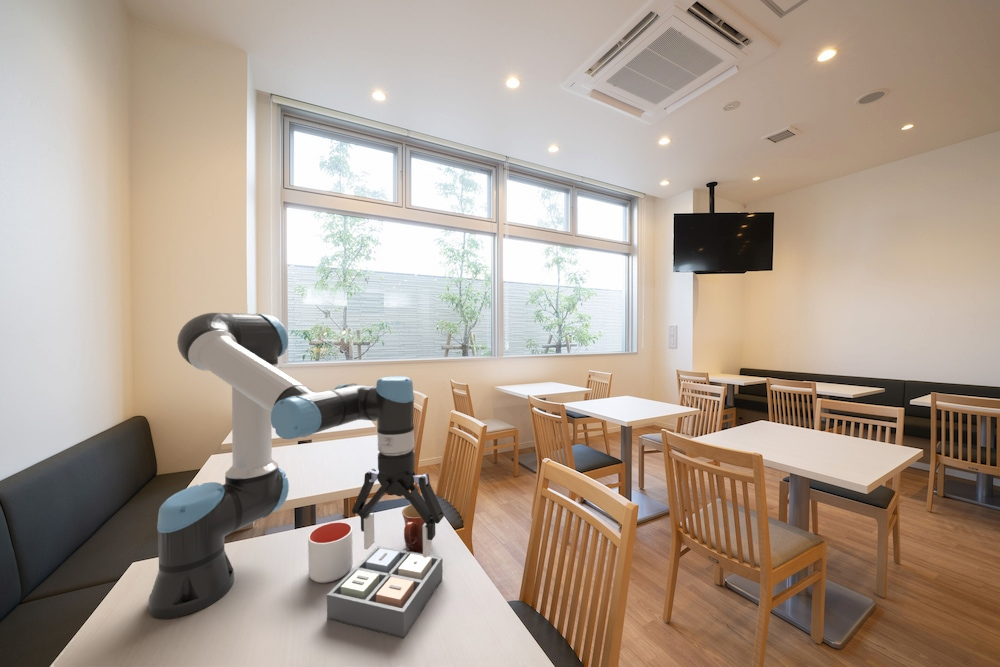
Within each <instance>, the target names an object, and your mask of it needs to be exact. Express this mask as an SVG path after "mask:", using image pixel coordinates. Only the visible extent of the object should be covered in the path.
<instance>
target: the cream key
mask: <svg viewBox="0 0 1000 667" xmlns="http://www.w3.org/2000/svg"><path fill="white" fill-rule="evenodd" d="M431 568H432V558H430V557H427V558H424V557H423V556H419V555H414V554H410V555H409V556H408V558H407V559H406V560H405V561H404V562H403V563H402V565H401V566H400V567H399V568H398V575H399V576H404V577H409V578H414V579H419V580H423V579H424V578H425V576H426V575H427V573H428V572H429V571H430V569H431Z"/></svg>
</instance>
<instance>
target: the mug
mask: <svg viewBox="0 0 1000 667" xmlns="http://www.w3.org/2000/svg"><path fill="white" fill-rule="evenodd" d="M401 514H402V517H403V520H404V530H403V538H404V544H405V548H406V550H408V552H414V553H421V552H422V553H423V525H424V524H425V522H424V520H423V519H422V518H421V516H420V515H419V513H418V512H417V511H416V509H415V508H414V507H413V505H412V504H411V503H410V504H408V505H406V506H404V508H403V509H402V512H401Z"/></svg>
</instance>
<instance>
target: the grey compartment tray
mask: <svg viewBox="0 0 1000 667" xmlns="http://www.w3.org/2000/svg"><path fill="white" fill-rule="evenodd" d="M380 548H381V549H386V550H392V551H397V552H400V561H399V562H398V563H397V564H396V565H395V566H394V567H393V569H392V570H391V571H390V572H389V573H384V572H379V571H374V570H369V569H366V561H367V560H368V559H369V558H370V557H371V556H372V555H373V554H374V553H375V552H376V551H378V550H379V549H380ZM410 554H414V555H419V556H423V553H420V552H411V551H409V550H408V551H407V550H402V549H398V548H397V549H395V548H390V547H384V546H380V545H379V546H378V545H376V547H375V548H374V549H373V550H372V551H370V552H369V553H368V555H366V557H365V558H363V559H362V560H361V561H360V562H359V563H358V564H357V565H356V566H355V567H354V568H353V569H352V570H350V572H348V573H347V574H346V575H345V577H343V578H342V580H340V582H339V583H337V584H336V585H335V586H334V587H333V588H332V589H331V590H330V591H329V592H328V593H327V594H326V620H330V621H333V622H335V623H336V622H337V623H340V624H344V625H348V626H349V625H350V626H353V627H356V628H361V629H365V630H370V631H372V632H377V633H381V634H385V635H389V636H393V637H396V638H400V639H405V637H406V636H407V635H408V633H409V632H410V630H411V628H412V626H413V625H414V623H415V622H416V620H417V619H418V618H419V616H420V614H421V613H422V611H423V610H424V608H425V606H426V605H427V603H428V602H429V600H430V599H431V597H432V595H433V594H434V592H436V589H437V588H438V586H439V585H440V583H441V582H442V580H443V557H441V556H435V555H432V554H431V555H430V554H429V555H428V556H427V557H430V558H432V568H431V569H430V571H429V572H428V573H427V575H426V576H425V578H424V579H423V580H419V579H414V578H409V577H404V576H399V575H398V568H399V567H400V566H401V565H402V563H403V562H404V561H405V560H406V559H407V558H408V556H409V555H410ZM357 570H360V571H365V572H370V573H375V574H379V584H378V586H377V587H376V588H375V589H374V590H373V591H372V592H371V593H370V595H369V596H368V597H367V598H366V599H365V600H363V599H358V598H354V597H349V596H345V595H341V586H342V585H343V584H344V583H345V582H346V581H347V580H348V579H349V578H350V577H351V576H352V575H353V574H354V573H355V572H356V571H357ZM390 577H395V578H400V579H405V580H410V581H414V593H413V594H412V596H411V597H410V598H409V600H408V601H407V602H406V604H405V605H404V607H403V608H398V607H394V606H389V605H385V604H380V603H376V594H377V592H378V591H379V590H380V589H381V588H382V587H383V585H384V584H385V583H386V582H387V581H388V580H389V578H390Z"/></svg>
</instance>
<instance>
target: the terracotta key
mask: <svg viewBox="0 0 1000 667" xmlns="http://www.w3.org/2000/svg"><path fill="white" fill-rule="evenodd" d="M413 593H414V581H410V580H405V579H400V578H395V577H390V578H389V580H388V581H387V582H386V583H385V584H384V585H383V587H382V588H381V589H380V590H379V591H378V592H377V594H376V603H380V604H385V605H389V606H394V607H398V608H403V607H404V605H405V604H406V602H407V601H408V600H409V598H410V597H411V596H412V594H413Z"/></svg>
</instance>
